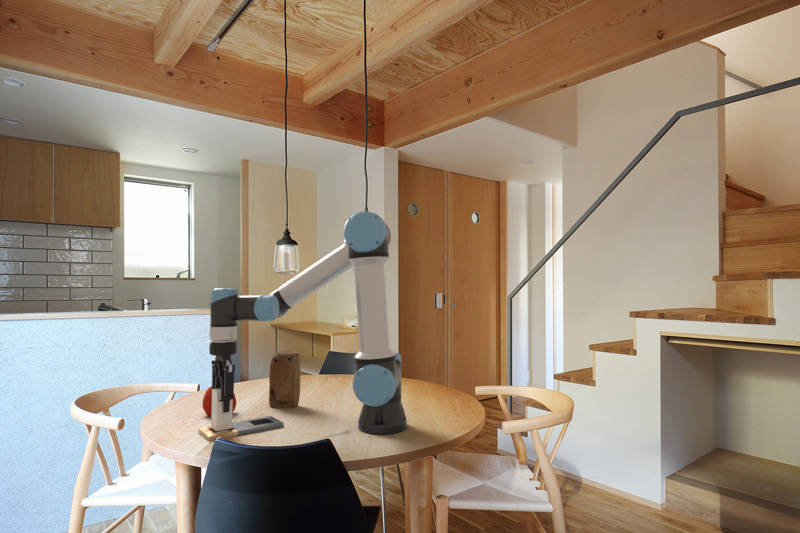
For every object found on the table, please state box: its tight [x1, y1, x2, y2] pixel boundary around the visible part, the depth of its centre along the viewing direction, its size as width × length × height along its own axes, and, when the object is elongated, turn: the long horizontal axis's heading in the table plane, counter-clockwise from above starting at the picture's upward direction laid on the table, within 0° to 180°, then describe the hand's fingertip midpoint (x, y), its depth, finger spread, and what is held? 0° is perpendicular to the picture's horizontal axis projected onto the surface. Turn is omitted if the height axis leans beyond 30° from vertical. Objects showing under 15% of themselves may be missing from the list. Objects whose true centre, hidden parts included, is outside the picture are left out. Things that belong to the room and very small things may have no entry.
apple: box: [202, 385, 237, 417], centre depth 159 cm, size 11×11×11 cm
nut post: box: [210, 388, 233, 431], centre depth 136 cm, size 4×4×11 cm
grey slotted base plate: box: [198, 415, 285, 442], centre depth 140 cm, size 10×22×2 cm, turn 129°
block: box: [268, 350, 301, 409], centre depth 170 cm, size 11×8×20 cm
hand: (221, 421), depth 136 cm, fingers closed on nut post, 4 cm apart
